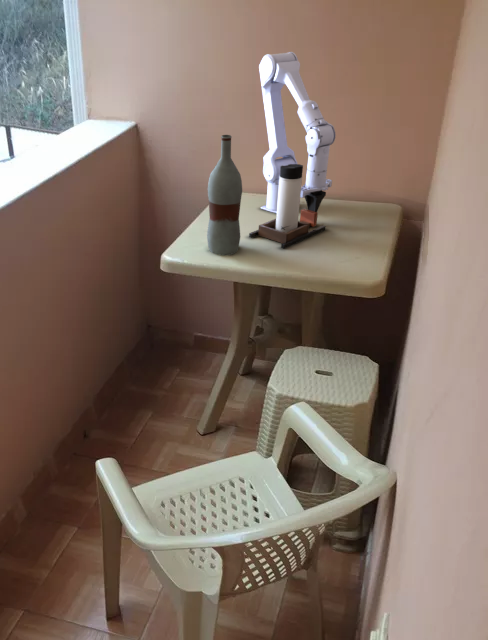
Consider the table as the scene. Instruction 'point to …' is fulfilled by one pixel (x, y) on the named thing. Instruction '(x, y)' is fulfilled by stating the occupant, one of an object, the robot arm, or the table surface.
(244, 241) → the table surface
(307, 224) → the carrier
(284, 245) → the rails
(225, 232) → the bottle
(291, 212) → the travel mug
